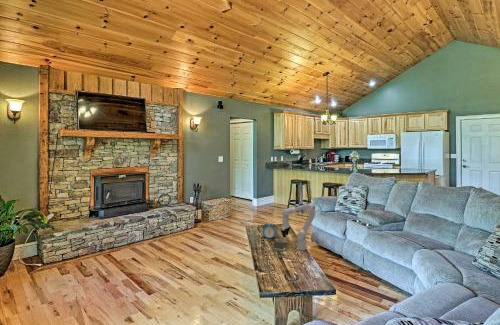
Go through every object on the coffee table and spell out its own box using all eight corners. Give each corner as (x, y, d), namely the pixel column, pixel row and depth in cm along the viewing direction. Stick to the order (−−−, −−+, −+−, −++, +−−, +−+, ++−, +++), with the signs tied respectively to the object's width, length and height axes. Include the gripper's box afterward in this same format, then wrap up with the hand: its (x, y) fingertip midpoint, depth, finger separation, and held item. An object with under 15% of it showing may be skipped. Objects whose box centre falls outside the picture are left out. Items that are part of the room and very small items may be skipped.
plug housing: (272, 246, 268) (272, 239, 268) (284, 248, 262) (284, 241, 262) (270, 247, 264) (270, 241, 264) (283, 249, 259) (283, 243, 258)
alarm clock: (262, 238, 294) (262, 224, 293) (262, 236, 300) (262, 222, 300) (275, 238, 294) (275, 224, 293) (275, 236, 300) (275, 222, 299)
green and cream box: (276, 247, 268) (276, 242, 268) (286, 249, 264) (286, 244, 263) (272, 250, 261) (272, 244, 261) (283, 251, 257) (283, 246, 256)
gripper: (284, 219, 280) (284, 233, 281) (278, 223, 267) (278, 237, 268) (291, 220, 277) (291, 234, 277) (285, 224, 264) (285, 238, 265)
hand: (285, 236), depth 272 cm, fingers open, 7 cm apart
